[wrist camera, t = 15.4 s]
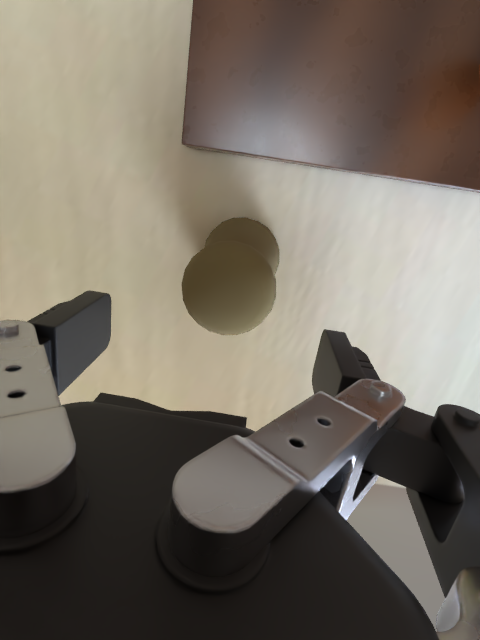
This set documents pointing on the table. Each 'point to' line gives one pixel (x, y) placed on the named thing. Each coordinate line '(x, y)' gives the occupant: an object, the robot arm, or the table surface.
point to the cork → (232, 277)
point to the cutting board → (340, 85)
